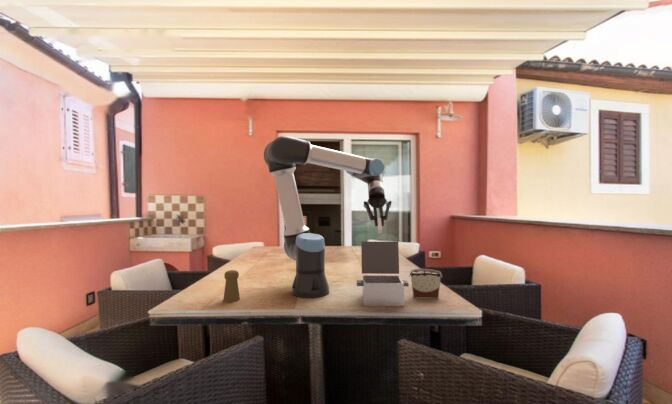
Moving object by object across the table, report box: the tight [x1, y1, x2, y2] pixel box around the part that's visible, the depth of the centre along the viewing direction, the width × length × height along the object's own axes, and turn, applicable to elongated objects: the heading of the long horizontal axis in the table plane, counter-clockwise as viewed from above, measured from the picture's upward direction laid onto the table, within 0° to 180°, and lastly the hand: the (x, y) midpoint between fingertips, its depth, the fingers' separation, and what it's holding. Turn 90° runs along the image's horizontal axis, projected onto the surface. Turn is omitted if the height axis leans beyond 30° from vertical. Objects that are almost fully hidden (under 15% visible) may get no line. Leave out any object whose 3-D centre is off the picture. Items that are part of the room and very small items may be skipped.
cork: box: [222, 269, 241, 303], centre depth 121 cm, size 6×6×11 cm
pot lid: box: [360, 241, 400, 275], centre depth 126 cm, size 15×12×1 cm
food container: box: [408, 268, 443, 299], centre depth 125 cm, size 12×6×10 cm, turn 84°
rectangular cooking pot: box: [356, 274, 410, 307], centre depth 119 cm, size 19×12×8 cm, turn 88°
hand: (380, 231), depth 134 cm, fingers closed
